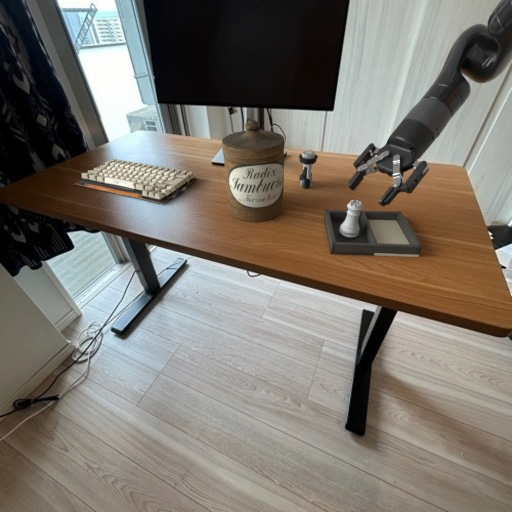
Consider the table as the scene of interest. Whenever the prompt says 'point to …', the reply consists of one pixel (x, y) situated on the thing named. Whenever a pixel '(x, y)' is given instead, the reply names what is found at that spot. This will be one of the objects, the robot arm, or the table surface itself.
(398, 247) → the sorting tray
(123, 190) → the mechanical keyboard
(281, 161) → the wooden container
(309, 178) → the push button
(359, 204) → the rook chess piece
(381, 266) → the table surface
